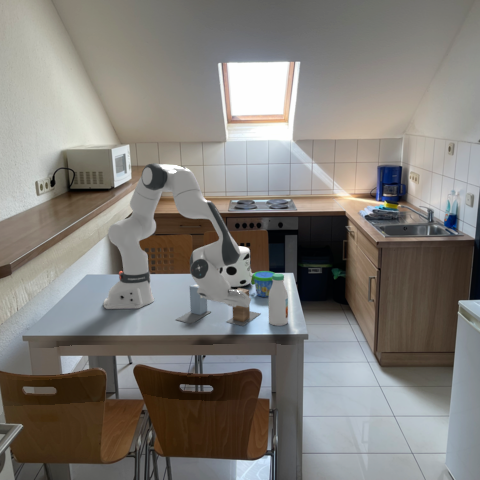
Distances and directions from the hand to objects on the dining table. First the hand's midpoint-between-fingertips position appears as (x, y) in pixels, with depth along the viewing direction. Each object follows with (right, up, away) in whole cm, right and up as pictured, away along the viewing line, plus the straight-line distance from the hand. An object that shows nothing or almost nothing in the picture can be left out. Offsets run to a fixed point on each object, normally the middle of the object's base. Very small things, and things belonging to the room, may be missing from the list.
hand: (233, 304), depth 186 cm
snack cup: (+14, 0, +35) cm, 38 cm away
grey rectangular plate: (+4, -7, +9) cm, 12 cm away
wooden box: (+3, -7, +7) cm, 10 cm away
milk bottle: (+18, -8, +4) cm, 20 cm away
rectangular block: (-15, -6, +15) cm, 22 cm away
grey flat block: (-17, -6, +12) cm, 22 cm away
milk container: (0, +3, +50) cm, 50 cm away
